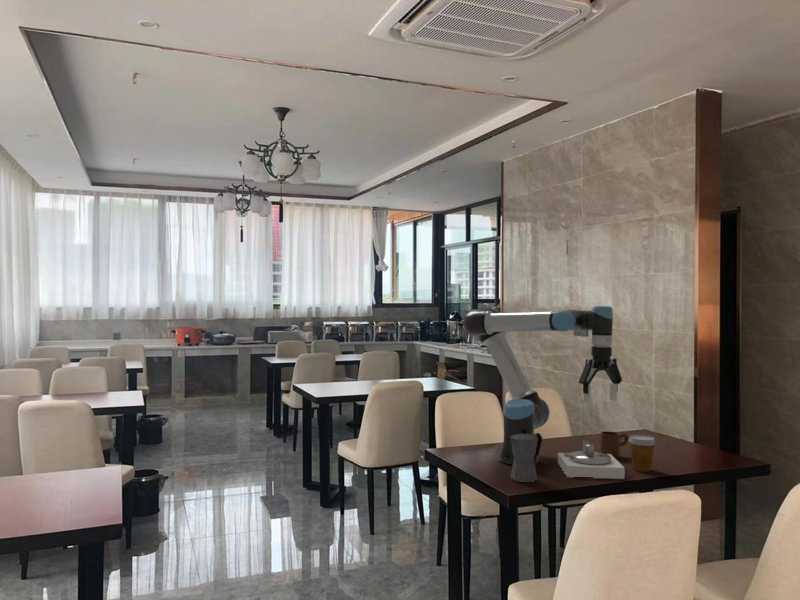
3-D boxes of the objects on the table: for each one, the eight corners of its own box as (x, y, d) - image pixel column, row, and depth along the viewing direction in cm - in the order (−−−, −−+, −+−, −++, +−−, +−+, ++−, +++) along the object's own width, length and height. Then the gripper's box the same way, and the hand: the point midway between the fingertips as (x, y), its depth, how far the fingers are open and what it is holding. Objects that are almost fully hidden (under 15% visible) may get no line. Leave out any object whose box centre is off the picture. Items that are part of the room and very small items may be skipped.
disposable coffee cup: (659, 469, 241) (660, 437, 241) (648, 474, 234) (648, 441, 234) (635, 464, 247) (635, 433, 247) (623, 469, 241) (624, 437, 241)
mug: (622, 453, 266) (622, 430, 266) (633, 457, 259) (633, 434, 259) (596, 454, 263) (596, 431, 263) (606, 459, 256) (606, 435, 256)
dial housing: (567, 477, 229) (567, 462, 229) (557, 462, 249) (557, 449, 249) (624, 479, 228) (624, 464, 228) (610, 464, 247) (610, 451, 247)
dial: (615, 465, 230) (615, 450, 230) (573, 464, 231) (573, 449, 231) (604, 454, 246) (605, 440, 246) (565, 453, 247) (565, 439, 247)
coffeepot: (519, 485, 218) (520, 432, 218) (500, 479, 226) (501, 428, 226) (551, 479, 227) (551, 428, 227) (531, 472, 235) (532, 423, 235)
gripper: (584, 347, 238) (582, 404, 238) (632, 346, 250) (631, 400, 250) (570, 345, 244) (568, 401, 245) (617, 344, 256) (616, 397, 256)
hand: (600, 401), depth 247 cm, fingers open, 13 cm apart
